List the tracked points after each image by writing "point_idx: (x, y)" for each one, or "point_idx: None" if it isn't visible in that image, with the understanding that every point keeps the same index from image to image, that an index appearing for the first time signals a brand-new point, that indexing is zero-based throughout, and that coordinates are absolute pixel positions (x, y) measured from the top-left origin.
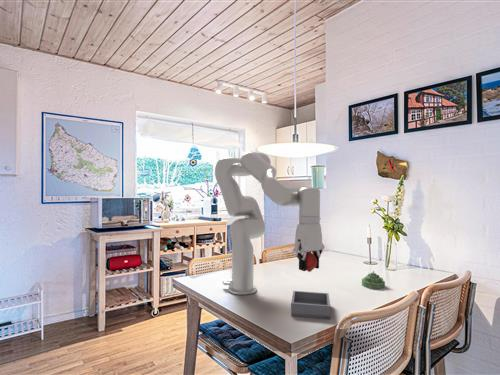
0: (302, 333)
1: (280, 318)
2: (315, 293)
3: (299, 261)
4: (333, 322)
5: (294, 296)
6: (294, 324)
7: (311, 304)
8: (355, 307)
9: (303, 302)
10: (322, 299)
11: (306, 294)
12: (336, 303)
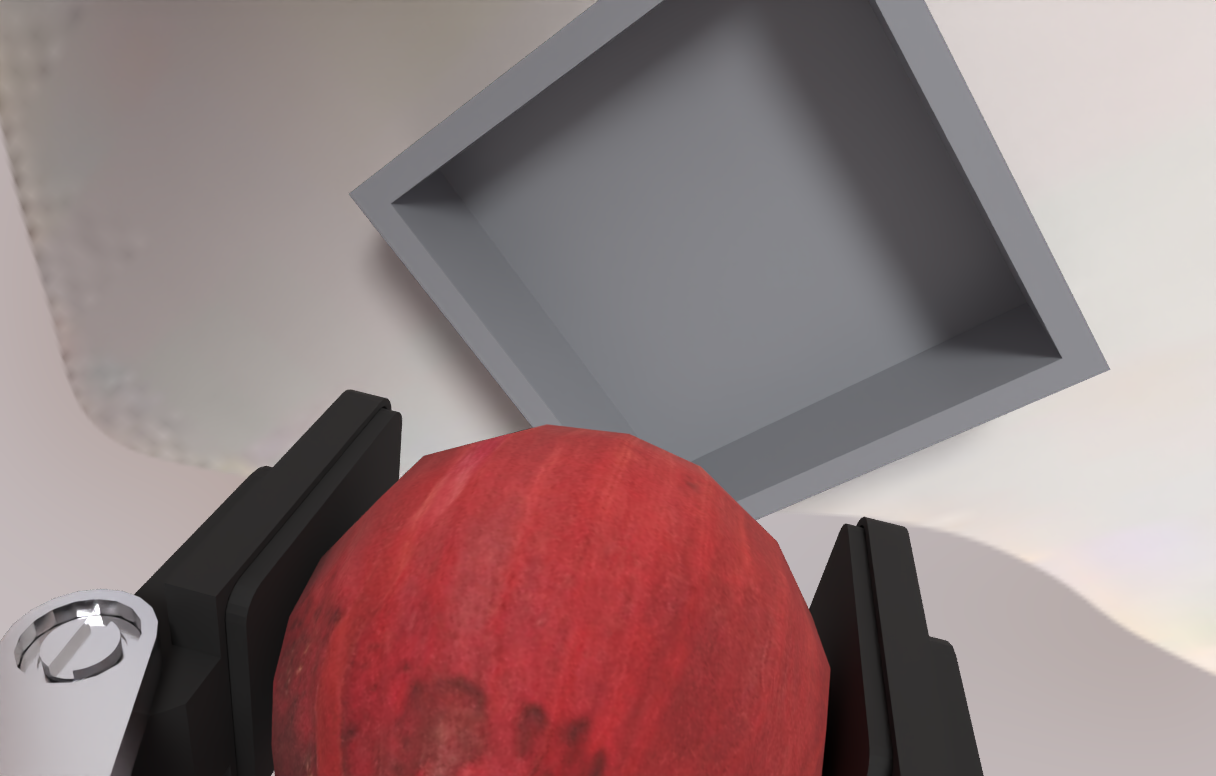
0: (250, 433)
1: (273, 108)
2: (985, 213)
3: (158, 591)
4: None
5: (593, 52)
6: (303, 299)
7: (521, 401)
8: (1173, 552)
9: (821, 55)
10: (1014, 274)
11: (913, 74)
12: (1186, 349)
